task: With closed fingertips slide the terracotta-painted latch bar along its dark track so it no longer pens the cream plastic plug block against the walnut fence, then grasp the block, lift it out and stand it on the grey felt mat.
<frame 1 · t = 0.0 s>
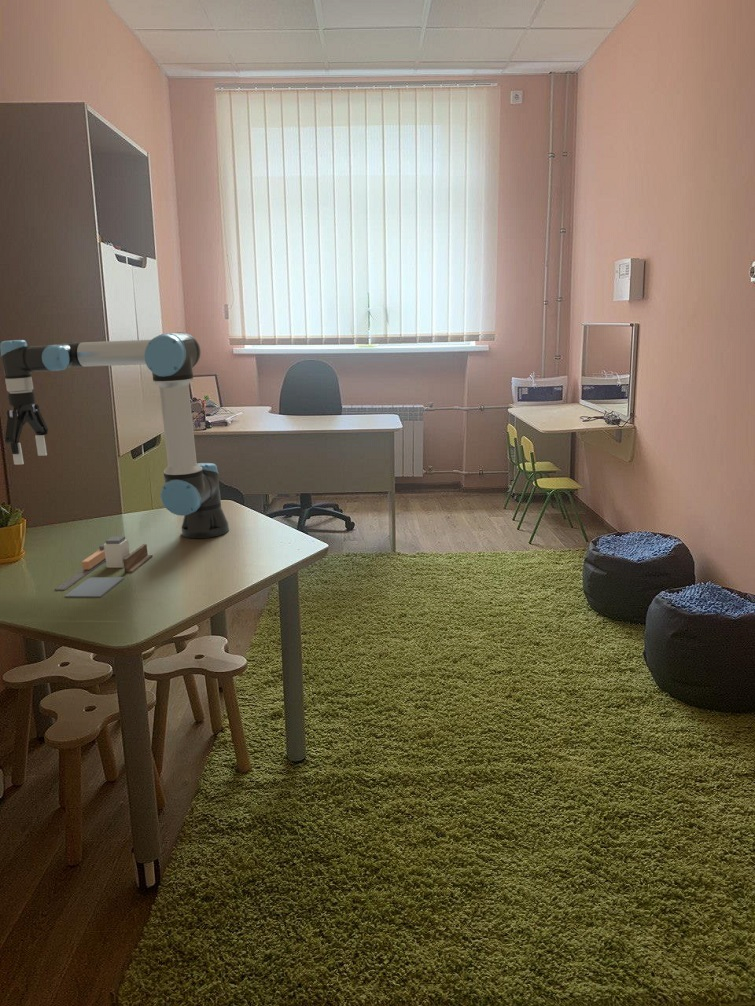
hand: (31, 459, 249), 28 cm above the table, fingers open, 13 cm apart
felt mat: (95, 587, 214), on the table
track: (84, 572, 227), on the table
plug block: (118, 564, 233), on the table
fence: (136, 564, 232), on the table
latch bar: (95, 556, 233), point 2 cm above the table, slide at 0.0 cm
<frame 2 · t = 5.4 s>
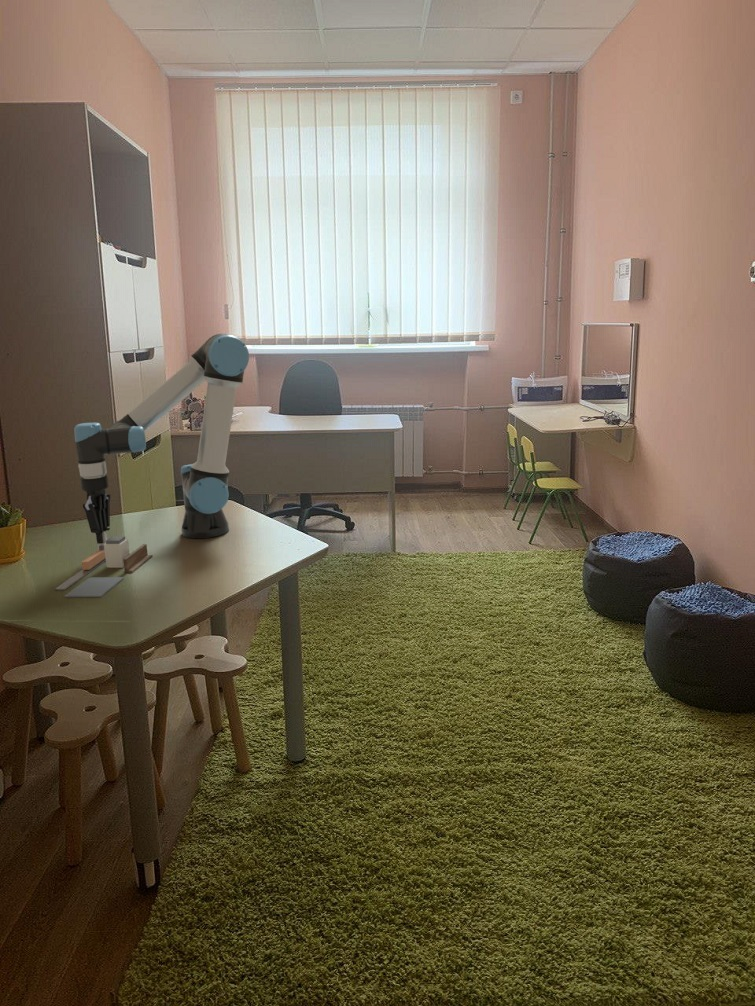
hand: (103, 552, 239), 2 cm above the table, fingers closed
latch bar: (94, 557, 233), point 2 cm above the table, slide at 0.2 cm, touching gripper
everything else where it was.
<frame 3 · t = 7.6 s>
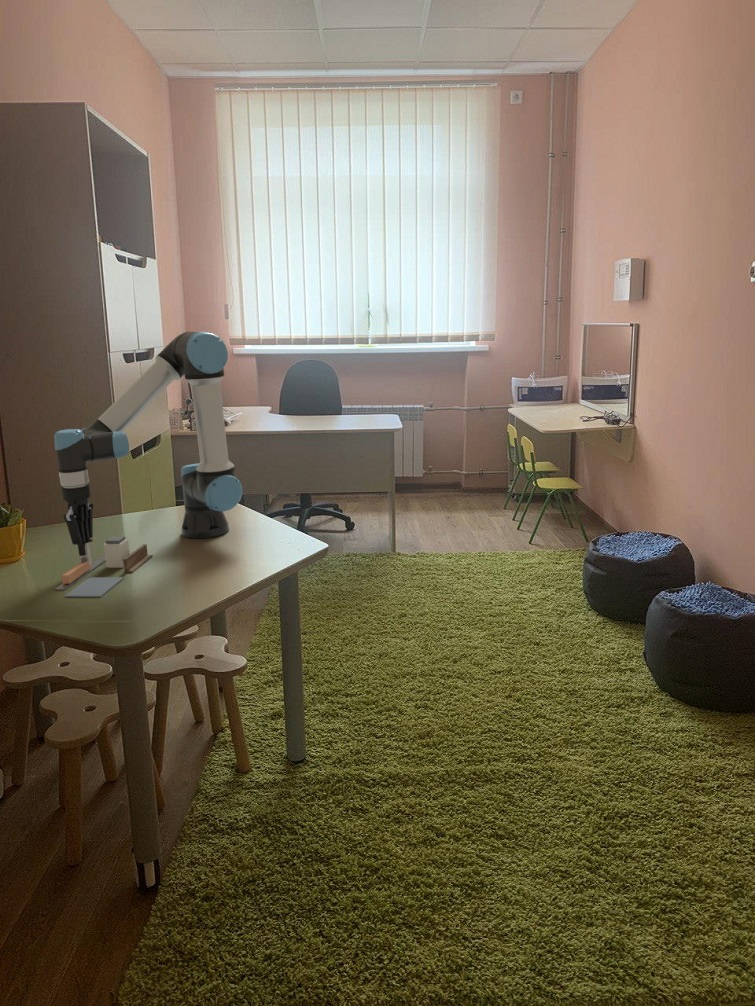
hand: (86, 565, 229), 2 cm above the table, fingers closed
latch bar: (76, 569, 222), point 2 cm above the table, slide at 11.5 cm, touching gripper
everything else where it was.
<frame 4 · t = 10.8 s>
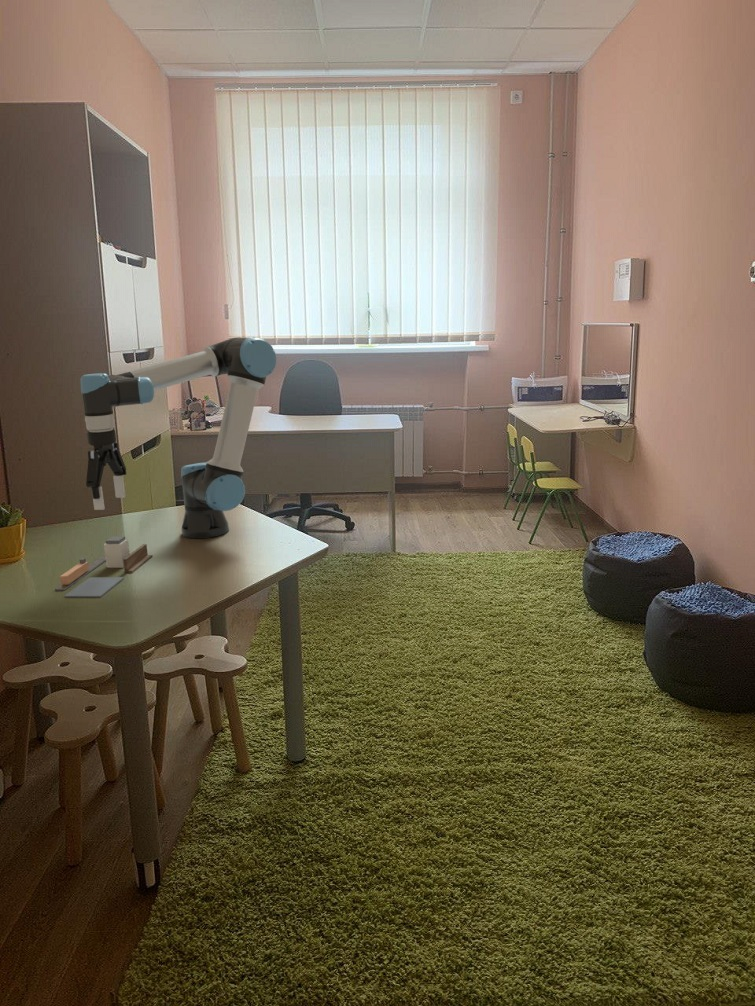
hand: (110, 503, 228), 18 cm above the table, fingers open, 13 cm apart
latch bar: (74, 570, 221), point 2 cm above the table, slide at 12.2 cm
everything else where it was.
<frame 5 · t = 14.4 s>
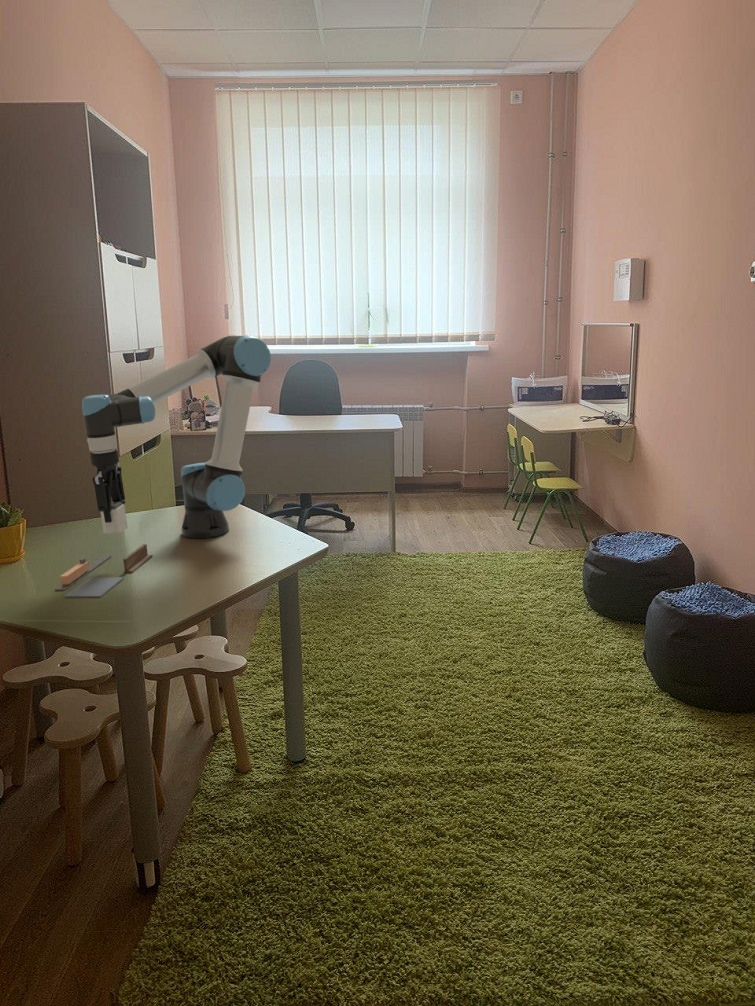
hand: (116, 529, 230), 11 cm above the table, fingers closed on plug block, 5 cm apart
plug block: (115, 530, 230), point 10 cm above the table, touching gripper
everything else where it was.
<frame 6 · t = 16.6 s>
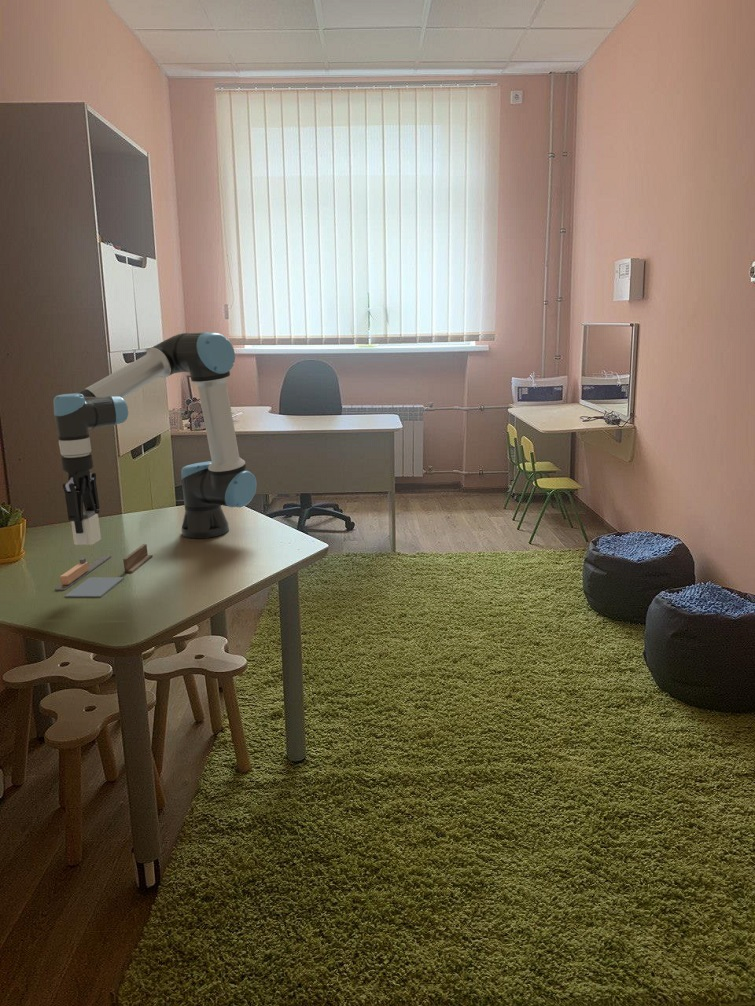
hand: (88, 540, 211), 13 cm above the table, fingers closed on plug block, 5 cm apart
plug block: (87, 542, 211), point 13 cm above the table, touching gripper
everything else where it was.
when the fingers open (1 cm above the table, at t = 19.0 s): plug block stays where it is, resting on felt mat.
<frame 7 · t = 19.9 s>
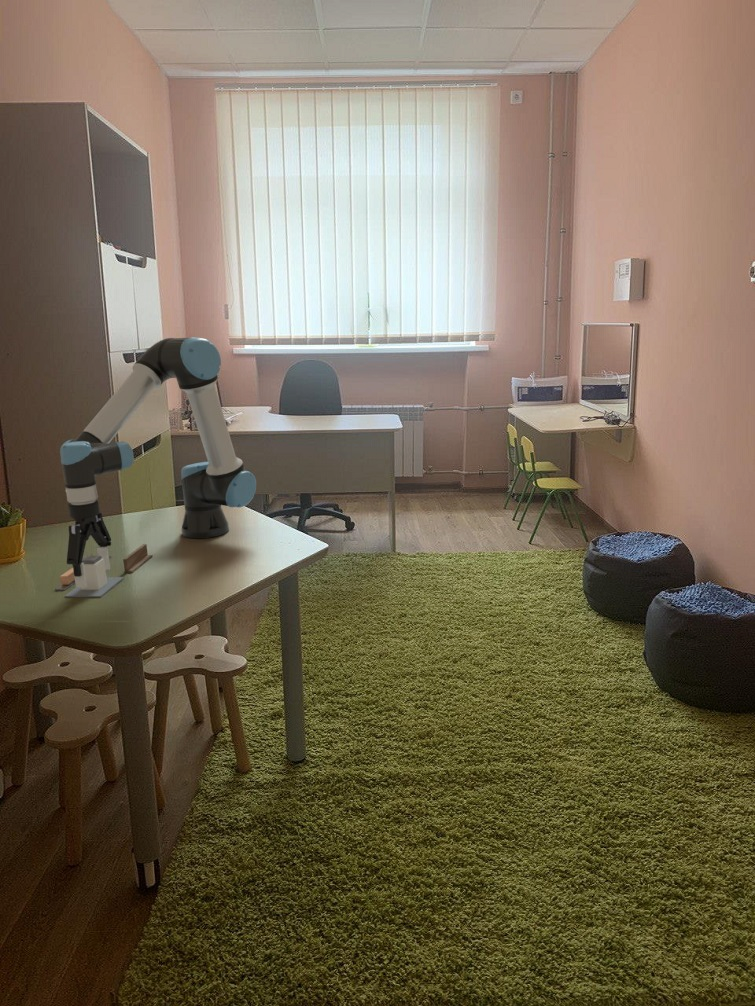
hand: (93, 578, 213), 3 cm above the table, fingers open, 13 cm apart
plug block: (94, 586, 214), resting on felt mat
everything else where it was.
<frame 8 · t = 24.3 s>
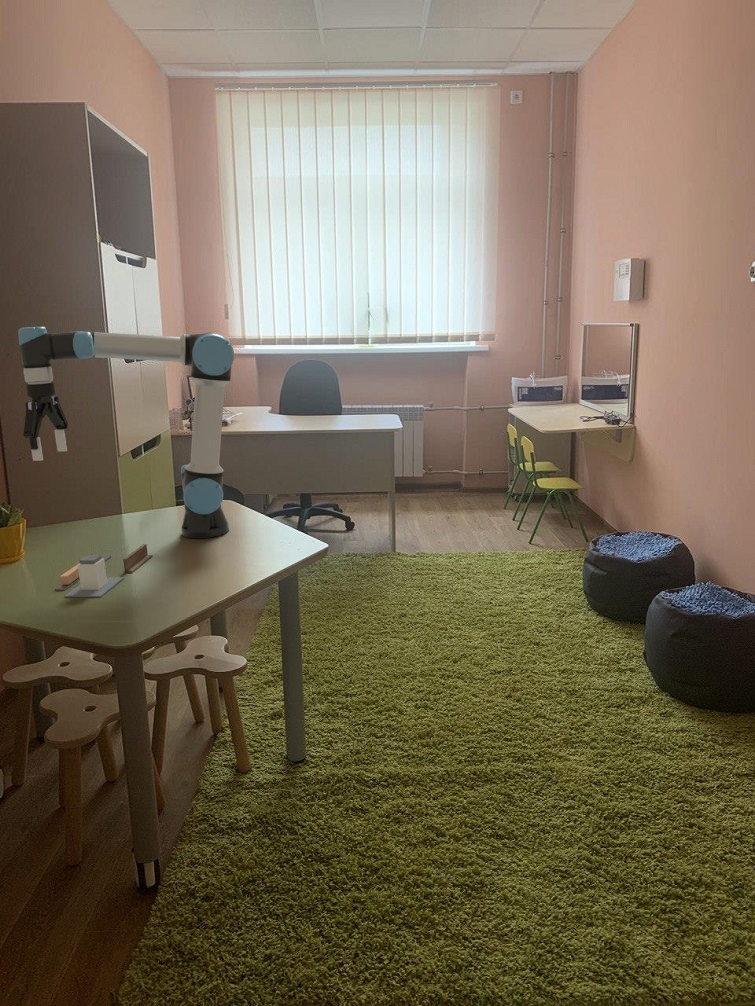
hand: (50, 455, 232), 32 cm above the table, fingers open, 13 cm apart
nothing on the table moved.
at the end: latch bar slide at 12.2 cm; plug block inside the target area on the felt mat (0.1 cm from its centre), point 0.4 cm above the felt mat's base; plug block tilted 0° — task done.
